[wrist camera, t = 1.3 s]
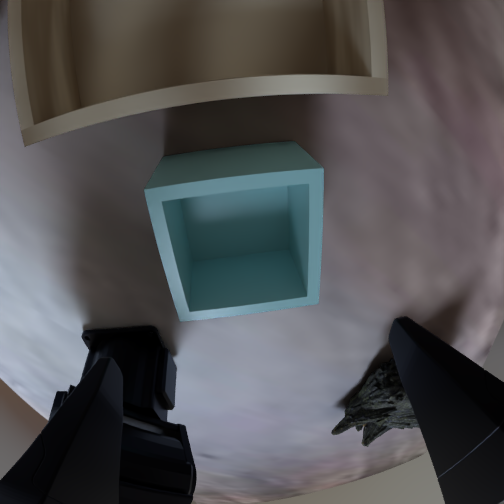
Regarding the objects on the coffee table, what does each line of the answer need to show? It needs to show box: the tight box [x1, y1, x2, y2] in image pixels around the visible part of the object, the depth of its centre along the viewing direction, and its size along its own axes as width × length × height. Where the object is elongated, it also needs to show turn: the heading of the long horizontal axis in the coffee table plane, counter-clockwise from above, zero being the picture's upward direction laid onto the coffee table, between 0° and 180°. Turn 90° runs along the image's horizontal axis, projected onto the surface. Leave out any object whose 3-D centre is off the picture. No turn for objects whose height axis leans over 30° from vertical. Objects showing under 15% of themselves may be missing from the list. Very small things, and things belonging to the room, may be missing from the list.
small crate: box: [144, 141, 324, 322], centre depth 16 cm, size 7×7×5 cm
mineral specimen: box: [331, 359, 420, 447], centre depth 27 cm, size 15×13×10 cm
